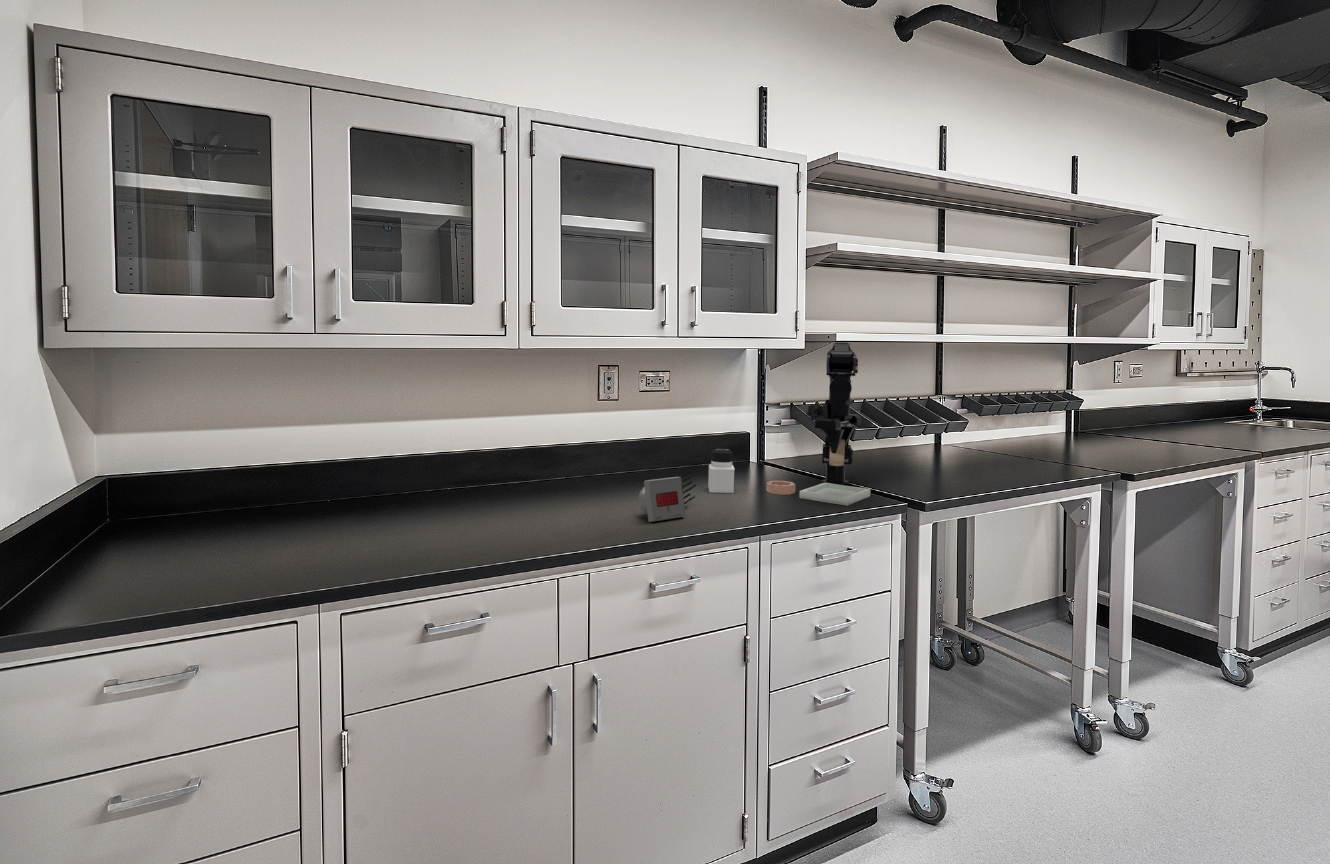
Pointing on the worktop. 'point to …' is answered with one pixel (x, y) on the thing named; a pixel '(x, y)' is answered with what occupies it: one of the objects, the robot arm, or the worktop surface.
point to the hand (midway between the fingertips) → (837, 452)
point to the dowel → (838, 455)
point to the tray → (835, 493)
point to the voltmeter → (664, 498)
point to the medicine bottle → (721, 472)
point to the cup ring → (780, 487)
